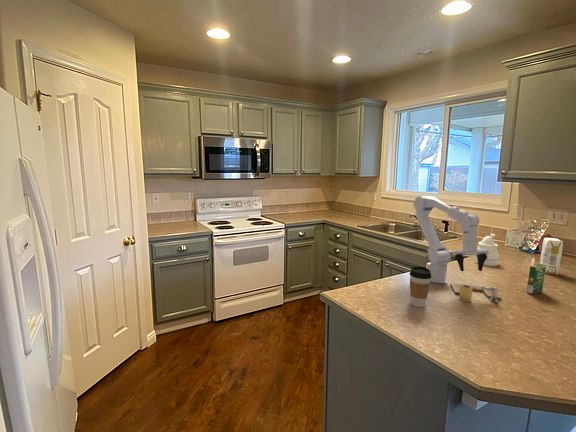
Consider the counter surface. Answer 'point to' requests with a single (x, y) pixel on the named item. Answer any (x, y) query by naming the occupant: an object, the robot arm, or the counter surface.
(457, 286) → the brown u-shaped board
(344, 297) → the counter surface
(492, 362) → the counter surface
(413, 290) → the coffee cup
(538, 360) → the counter surface
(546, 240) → the juice carton
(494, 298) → the hook arm
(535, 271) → the coffee box
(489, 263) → the honey pot
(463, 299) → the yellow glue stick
